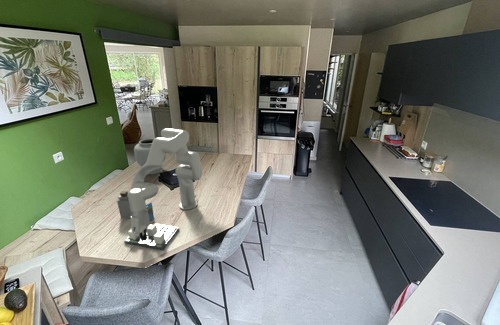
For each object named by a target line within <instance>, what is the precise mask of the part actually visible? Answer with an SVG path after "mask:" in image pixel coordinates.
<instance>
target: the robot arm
mask: <svg viewBox="0 0 500 325" xmlns="http://www.w3.org/2000/svg"><path fill="white" fill-rule="evenodd" d="M160 136H161V137H155V138H153V139H154V140H153V142H152V145H151V149H150V152H149V155H148V159H147V162H146V163H145V164H144V165H143V166H142V167H141V166H140V168H139V169H138V170H137V171H136V173H135V174H134V176H133V179H132V182H131V186H130V187H131V188H130V189H129V191H127V192H128V199H129V204H130V209H131V214H132V216H131V219H130V227H131V228H130V229H132V233H134V232H135V236H139V235H140V238H141V240H145V241H146V239H148V238H147V227H148V226H149V224H150V223H151V220H150V218H149V214H148V211H147V208H146V205H147V203H146V201H147V200H150V199H152V198H154V197H155V196H156V195H158V194H159V187H158V185H156V184H155V183H152V182H151V183H150V182H147V181H146V182H145V179H146V176H147V175H149V174H148V173H149V172H151V171H153V170H156V169H159V168H161V167H162V168H163V165H164V162H165V160H164V158H165V159H166V157H165V155H166V156H167V154H170V155H171V154H172V155H173V154H174V157H175V161H176V163H177V164H179V165H178V166H176V169H175V174H176V177H177V181H178V186H179V193H180V194H179V196H180V202H179V205H178V207H179V208H180V209H181V210H184V211H188V210H189V211H190V210H194V208H196V207H197V206H198V202H197V200H196V198H197V194H195V186H194V181H199V180H201V178H202V176H203V169H202V162H201V157H200V155H199V153H198V152H196V151H191V150H188V146H187V144H188V143H189V140H190V134H189V132H188V131H187V130H184V129H178V128H177V129H176V128H169V127H166V128H163V129H162V130H160Z"/></svg>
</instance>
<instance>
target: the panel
mask: <svg viewBox="0 0 500 325" xmlns="http://www.w3.org/2000/svg"><path fill="white" fill-rule="evenodd" d="M150 224H152V225H156V226H157V232H164V235H165V240H164V241H163V242H162V244H155V242H154V236H148V235H147V238H148V239H146V241H145V240H141V238H140V235H139V236H138V237H137V238H136V239H135V240H133V239H129V236H127V237H126V239H124V240H123V242H124V244H126V245H129V246H135V247H141V248H147V249H152V250H157V251H161V252H162V251H165V249H166V248H167V246H168V245H169V244H170V243H171V242H172V240H173V239H174V237H175V236H176V235H177V234H178V233H179V231H180V227H179V226H173V225H166V224H160V223H155V222H150ZM150 224H149V225H150ZM157 232H156V233H157Z"/></svg>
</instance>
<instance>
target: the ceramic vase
mask: <svg viewBox="0 0 500 325" xmlns="http://www.w3.org/2000/svg"><path fill="white" fill-rule="evenodd" d="M154 139H155V138H144V139H141V140H140V141H138V143H137V144H136V145H135V146H134V148H133V155H134V159H135V161H136V163H137V164H138V165H139V166H140V168H141V167H142V166H143V165H144V164H145V163H146V162H147V159H148V155H149V152H150V149H151V145H152V142H153V140H154ZM166 156H167V154H166V155H165V158H164V161H165V160H166ZM163 170H164V168H163V166H162V167H161V168H159V169H156V170H153V171H151V172H149V173H148V174H147V175H150V174H151V175H156V174H160V173H162V172H164V171H163ZM161 171H162V172H161ZM159 172H160V173H159Z"/></svg>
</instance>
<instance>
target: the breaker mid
mask: <svg viewBox="0 0 500 325" xmlns="http://www.w3.org/2000/svg"><path fill="white" fill-rule="evenodd" d="M156 232H157V226H156V225H152V224H150V225H149V226H148V227H147V235H148V236H154V235H155V234H156Z"/></svg>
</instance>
